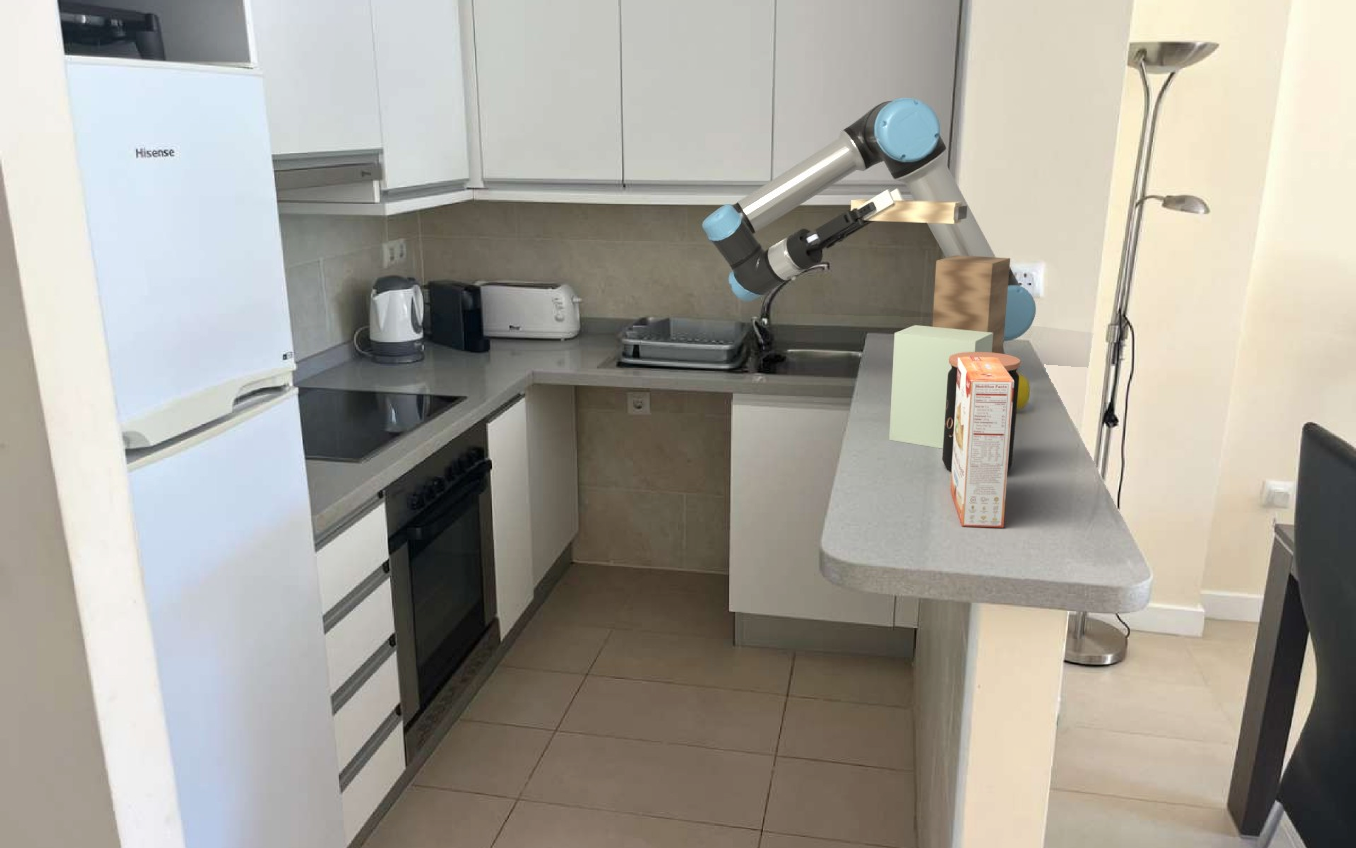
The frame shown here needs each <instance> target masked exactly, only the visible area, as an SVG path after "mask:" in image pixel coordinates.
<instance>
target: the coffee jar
mask: <svg viewBox="0 0 1356 848" xmlns="http://www.w3.org/2000/svg"><path fill="white" fill-rule="evenodd" d="M959 357H994V358H998V359H999V361H1000V362H1001V364H1002V365H1003V366H1004V368H1005V369H1006V370H1007V372H1008V373H1009V375H1010V376H1011V377H1012V379H1013V380H1014V393H1013V405H1012V417H1011V430H1010V443H1009V456H1008V469H1007V472H1008V471H1010V469H1011V467H1012V465H1013V456H1014V444H1015V432H1016V423H1017V422H1016V420H1017V411H1018V410H1017V399H1018V387H1019V375H1018V373H1019V372H1018V371H1017V370H1018V369H1019V368H1020V367H1021V366H1020V365H1021V359H1019V358H1018V357H1016V356H1013V355H1010V354H1006V353H1005V354H1000V353H991V352H963V353H957V354H954V355H951V356H950V357H949V363H950V364H951V366H952V368H951V370H950V371H949V372H948V379H947V394H946V409H945V425H944V440H943V449H942V457H941V458H942V459H941V460H942V462H943V464H944V466H945V468H946V470H947V471H948V472H950V473H952V456H953V439H954V420H955V404H956V385H957V366H958V358H959ZM1017 372H1018V373H1017Z"/></svg>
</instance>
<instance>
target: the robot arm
mask: <svg viewBox="0 0 1356 848" xmlns="http://www.w3.org/2000/svg"><path fill="white" fill-rule="evenodd" d="M937 115H938V114H937V113H936V112H935V111H934V110H933V108H932V107H931V106H929V105H928V104H927V103H926V102H923V101H921V100H919V99H916V98H912V97H901V98H897V99H894V100H889V101H884V102H881V103H879V104H877V105H875V106H874V107H873V108H871V109H870V110H868V111H867V112H866V113H865V114H864V115H862V116H861V117H860V118H858V119H857V120H856V121H854V122H853V123H851V124H850V125H849V126H846V128H844V129H842V130H841V131H840V132H839V137H838V138H837V139H835V140H834V141H833V142H831V143H829V144H828V145H826V146H824V147H823V148H822V149H820V150H818V151H816V152H815V153H813V154H812V155H810V156H809V157H807V158H805V159H804V160H802V161H800V162H799V163H798V164H796V165H794V166H793V167H791V168H789V169H788V170H786V171H785V172H782V173H781V174H780V175H778V176H777V177H775V178H774V179H772V180H770V181H769V182H767V183H765V184H764V185H762V186H761V187H759V188H758V189H756V190H754V191H752V192H751V193H749V194H748V195H746V196H745V197H743V198H741V199H740V200H738V201H737V202H736V203H734V204H729V203H726V204H724V205H722V206H720V207H719V208H717V209H715V211H713V213H711V214H710V215H708V216H707V217H706V218H705V219H704V220H703V221H702V224H701V227H702V229H703V231H704V232H705V234H706V236H707V238H708V240H709V241H710V244H712V245H713V246H715V248H716V249H717V251H718V252H719V254H721V255H722V257H723V258H724V260H725V261H726V262H727V263H728V265H729V267H730V268H731V271H730V272H729V275H728V284H729V286H730V287H731V291H732V293H733V294H734V295H735V297H737V299H739V300H741V301H742V302H751V301H753V300H755V299H758V298H759V297H763V296H765V295H766V294H768V293H769V292H771V291H772V290H774V289H776V288H777V287H779V286H781V285H782V284H784V283H786V282H788V281H790V280H791V281H795V280H796V279H797V276H799V275H800V274H802V273H804V272H805V270H807V271H808V270H809V269H811V268H813V267H814V266H816V265H818V264H820V263H821V262H822V260H823V256H824V253H823V250H825V249H827V250H828V249H830V248H832V247H834V246H835V244H837V243H841V242H843V241H844V240H845V239H846V238H848V237H850V236H851V235H854V234H855V233H856V232H858V231H859V230H862V229H864V228H865V227H867V226H868V225H869V224H872V223H874V221H868V220H866V219H868V218H870V217H871V216H873V215H875V214H877V213H878V212H880V211H882V210H883V209H885V208H887V207H889V206H890V205H892V204H894V203H895V201H894V200H905V199H904V197H903V196H902V193H901V191H900V189H899V188H895V189H893V190H892V191H890V189H886V190H884V191H882V192H881V193H879V194H877V195H875V196H874V197H872V198H871V199H868V200H869V201H867V202H865V203H864V204H862V205H860V206H859V207H858V208H859V209H857V208H854V209H853V210H852V211H851V209H848V210H845V212H842V213H841V214H840V215H838V216H836V217H834V218H833V219H831V220H829V221H827V222H826V223H824V224H822V225H821V226H819V227H817V228H815V229H814V230H812V231H811V230H809V229H808V228H800V229H799V230H797V231H796V232H794V233H792V234H790V235H789V236H788V237H785V238H783V239H782V240H781V241H778V242H776V243H775V244H773V245H772V246H770V247H769V248H768V249H764V248H763V246H762V245H761V243H759V241H758V240H757V238H756V237H755V235H754V234H755V233H757V232H758V231H760V230H762V229H763V228H765V227H766V226H768V225H770V224H771V223H773V222H775V221H777V220H779V218H781V217H782V216H784V215H786V214H788V213H789V212H790V211H791V212H792V210H794V209H795V208H798V207H799V206H800V205H802V204H804V203H805V202H807V201H809V200H810V199H812V198H814V197H815V196H817V195H818V194H820V193H821V192H823V191H825V190H827V189H828V188H829V187H831V186H833V185H835V184H837V183H838V182H839V181H841V180H843V179H844V178H846V177H847V176H849V175H851V174H852V173H854V172H856V171H859V172H864V171H866V170H868V169H869V168H871V167H874V166H875V165H878V164H880V163H882V162H884V164H885V166H886V168H887V169H888V171H889V173H890V175H891V176H892V178H893V180H894V181H897V182H901V183H904V184H905V186H906V187H907V189H908V191H909V193H910V195H911V197H912V199H913V201H950V202H962V206H967V218H965V219H961V222H960V223H955V224H949V223H926V224H927V226H928V228H929V230H930V232H931V233H932V235H933V236H934V238H935V240H936V242H937V243H938V246H939V247H940V249H941V251H942V253H943V255H944V258H948V257H951V256H955V255H961V256H979V257H996V255H995V253H994V251H993V249H992V247H991V246H990V243H989V241H988V240H987V238H986V236H985V235H984V233H983V231H982V228H981V226H980V225H979V223H978V222H977V219H976V218H975V216H974V214H973V212H972V210H971V208H970V206H969V204H968V202H967V200H966V199H965V197H964V195H963V193H962V191H961V189H960V188H959V185H958V183H957V181H956V179H955V178H954V176H953V174H952V173H951V171H950V169H949V167H948V165H947V163H946V161H945V158H946V154H947V151H948V148H947V146H946V144H945V143H944V140H943V138H942V136H941V135H940V132H941V126H940V121H939V118H938V116H937ZM861 217H863V219H864V220H862V218H861ZM1036 313H1037V307H1036V300H1035V299H1034V297H1033V295H1032V294H1031V293H1030V292H1029V291H1028V289H1026V288H1025V287H1023V286H1021V284H1020V283H1019V282H1018V279H1017V277H1016V276H1015V273H1014V271H1013V270H1012V268H1011V267H1010V268H1009V280H1008V292H1007V305H1006V317H1005V330H1004V342H1008V341H1013V340H1016V339H1018V338H1020V337H1021V336H1023V335H1024V334H1025V333H1026V332H1027V331H1028V330H1029V329H1030V328H1031V326H1032V325H1033V322H1034V320H1035V317H1036ZM1003 354H1006V353H1005V349H1004V347H1003Z"/></svg>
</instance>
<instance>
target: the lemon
mask: <svg viewBox="0 0 1356 848" xmlns="http://www.w3.org/2000/svg"><path fill="white" fill-rule="evenodd" d="M1016 372H1017V373H1018V375H1019V387H1018V399H1017V411H1019V410H1020V409H1022V408H1024V407H1025V406H1026V405H1027V403H1028V402H1029V398H1030V394H1031V393H1030V391H1031V389H1030V388H1031V387H1030V384H1029V381H1028V379H1027V378H1026V377H1025V376H1024V375H1022V374H1021V373H1019V372H1018V371H1016Z"/></svg>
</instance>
